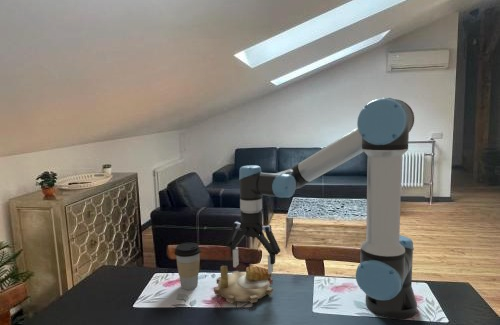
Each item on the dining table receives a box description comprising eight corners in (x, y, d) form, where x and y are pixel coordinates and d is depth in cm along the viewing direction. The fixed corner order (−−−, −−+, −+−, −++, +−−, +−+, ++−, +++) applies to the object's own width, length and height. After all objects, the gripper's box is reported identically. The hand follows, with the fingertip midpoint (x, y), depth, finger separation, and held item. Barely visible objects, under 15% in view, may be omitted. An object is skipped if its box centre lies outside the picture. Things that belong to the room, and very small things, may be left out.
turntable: (260, 270, 136) (260, 249, 135) (283, 296, 116) (283, 271, 115) (207, 280, 129) (207, 257, 128) (222, 309, 109) (222, 282, 108)
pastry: (270, 272, 130) (270, 263, 129) (272, 281, 123) (272, 271, 122) (245, 273, 129) (244, 264, 129) (245, 282, 122) (245, 272, 122)
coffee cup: (196, 293, 122) (195, 252, 120) (171, 291, 124) (169, 250, 122) (205, 280, 131) (204, 242, 129) (182, 279, 133) (180, 241, 131)
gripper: (289, 211, 118) (290, 270, 121) (225, 204, 129) (227, 259, 132) (280, 216, 111) (282, 280, 114) (214, 209, 123) (217, 267, 125)
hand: (252, 269), depth 123 cm, fingers open, 13 cm apart
